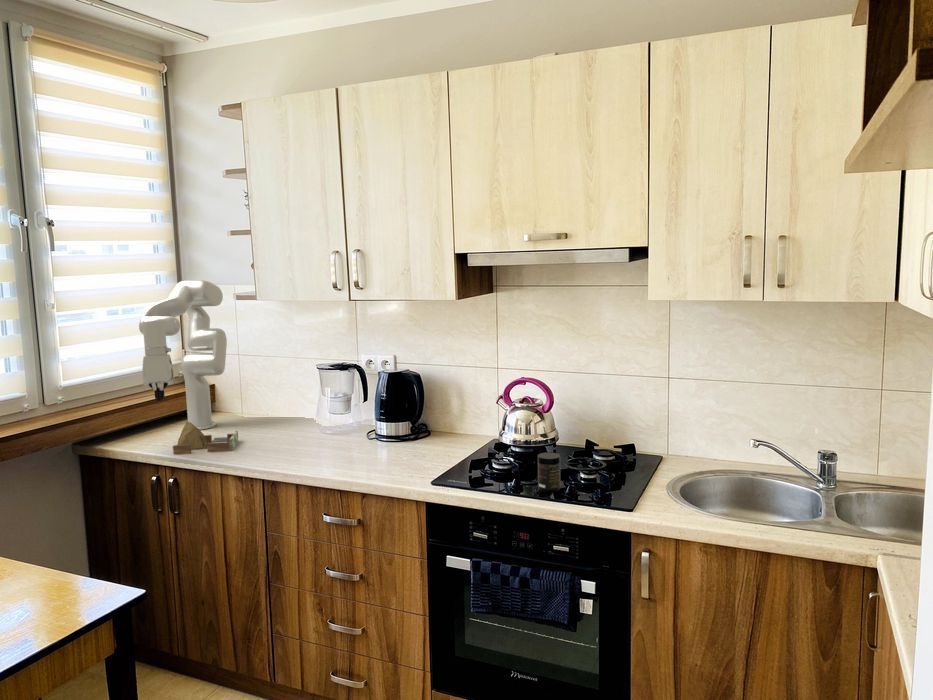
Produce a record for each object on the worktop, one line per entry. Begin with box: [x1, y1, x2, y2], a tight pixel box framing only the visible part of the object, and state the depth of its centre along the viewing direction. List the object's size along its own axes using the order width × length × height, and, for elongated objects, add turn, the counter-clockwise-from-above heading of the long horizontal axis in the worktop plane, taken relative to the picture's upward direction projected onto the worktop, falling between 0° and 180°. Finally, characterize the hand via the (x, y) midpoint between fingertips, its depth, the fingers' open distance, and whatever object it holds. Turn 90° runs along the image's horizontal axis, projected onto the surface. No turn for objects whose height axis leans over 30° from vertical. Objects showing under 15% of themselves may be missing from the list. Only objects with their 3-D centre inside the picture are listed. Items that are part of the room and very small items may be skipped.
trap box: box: [172, 430, 239, 455], centre depth 273 cm, size 20×21×4 cm
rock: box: [177, 421, 208, 450], centre depth 269 cm, size 11×9×10 cm
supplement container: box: [537, 452, 561, 493], centre depth 213 cm, size 7×7×10 cm
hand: (160, 400), depth 265 cm, fingers closed
